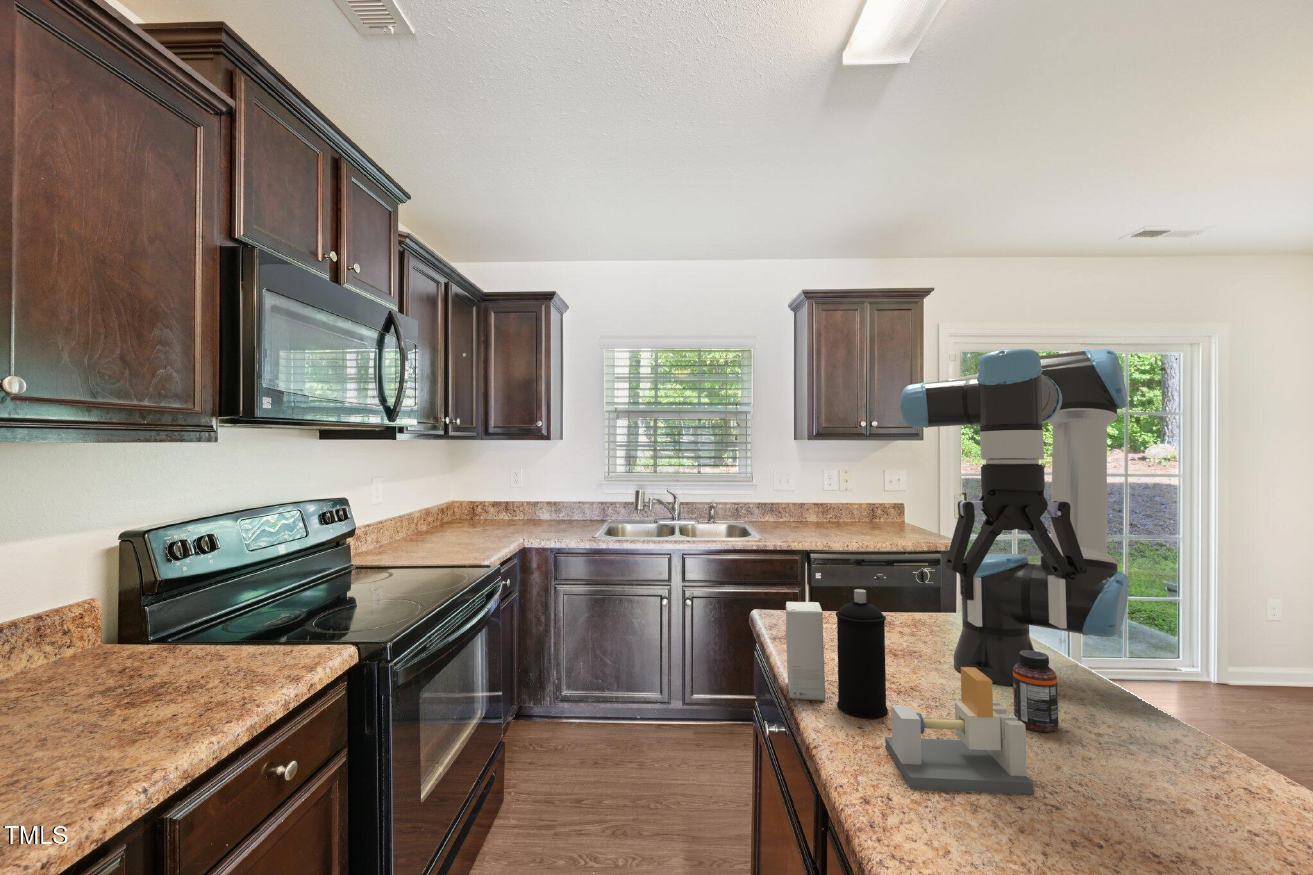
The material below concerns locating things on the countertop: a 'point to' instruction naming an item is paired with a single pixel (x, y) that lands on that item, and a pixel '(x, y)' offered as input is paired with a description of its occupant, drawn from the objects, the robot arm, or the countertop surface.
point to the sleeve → (977, 712)
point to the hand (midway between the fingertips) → (1016, 624)
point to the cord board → (958, 755)
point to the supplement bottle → (1035, 692)
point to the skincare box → (805, 650)
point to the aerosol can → (861, 659)
